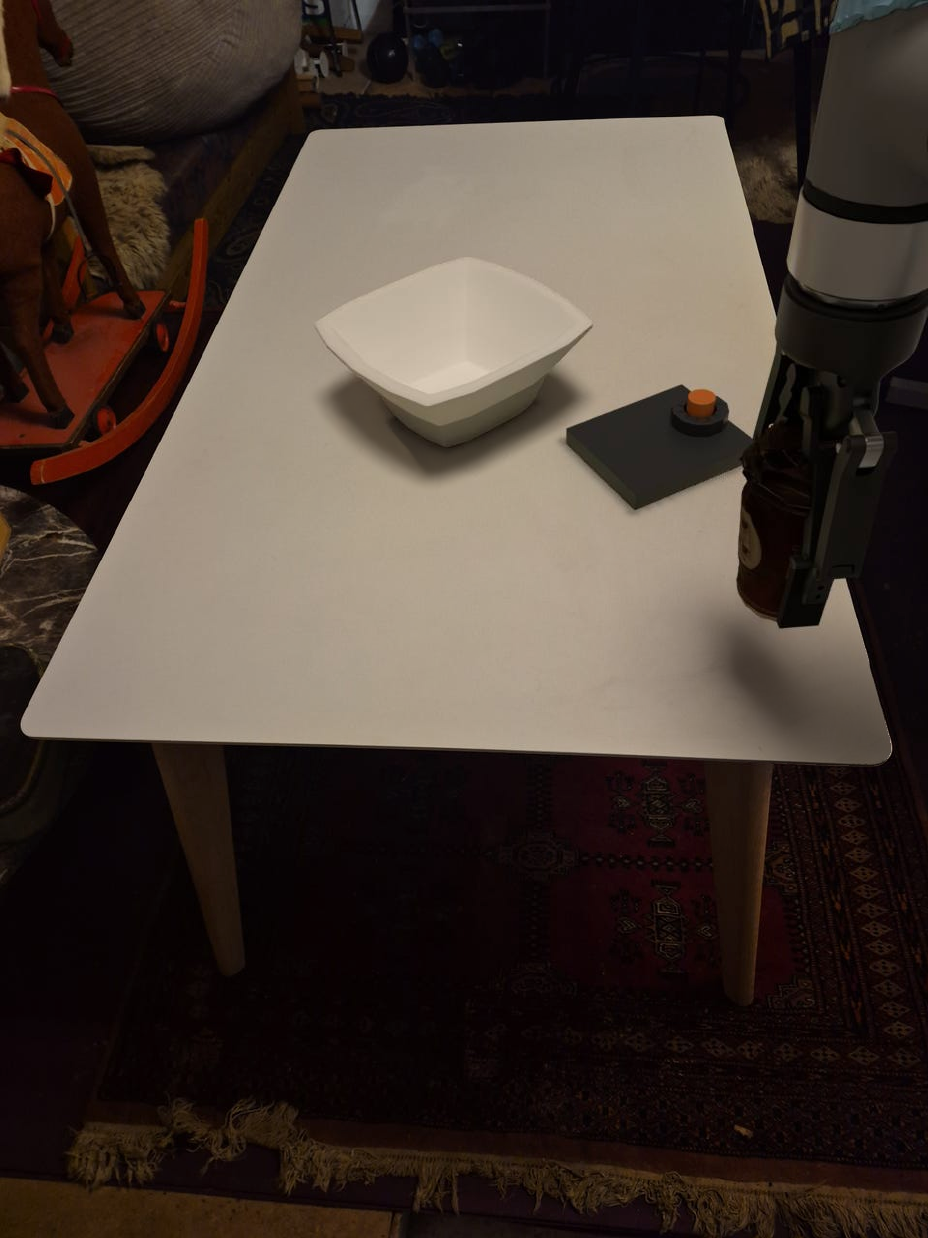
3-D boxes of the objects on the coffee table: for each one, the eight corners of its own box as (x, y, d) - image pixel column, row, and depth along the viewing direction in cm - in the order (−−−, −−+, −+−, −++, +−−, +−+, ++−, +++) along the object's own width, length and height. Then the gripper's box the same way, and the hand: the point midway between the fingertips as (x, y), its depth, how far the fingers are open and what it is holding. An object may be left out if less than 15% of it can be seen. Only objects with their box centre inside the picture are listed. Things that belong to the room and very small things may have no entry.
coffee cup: (705, 618, 62) (731, 474, 52) (727, 543, 67) (754, 400, 57) (833, 646, 59) (884, 500, 50) (846, 566, 64) (895, 419, 55)
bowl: (610, 402, 97) (614, 319, 89) (431, 501, 88) (419, 417, 80) (479, 324, 111) (473, 246, 103) (313, 402, 102) (293, 323, 94)
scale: (681, 397, 97) (684, 370, 94) (757, 458, 89) (764, 430, 86) (565, 442, 93) (566, 415, 90) (634, 509, 85) (637, 482, 82)
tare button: (702, 399, 91) (704, 385, 89) (719, 412, 89) (721, 398, 88) (680, 408, 90) (682, 394, 89) (697, 421, 88) (699, 407, 87)
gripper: (1024, 373, 38) (884, 688, 55) (864, 192, 52) (791, 487, 69) (854, 388, 39) (766, 697, 55) (739, 205, 53) (697, 496, 69)
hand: (780, 580), depth 62 cm, fingers closed on coffee cup, 8 cm apart
